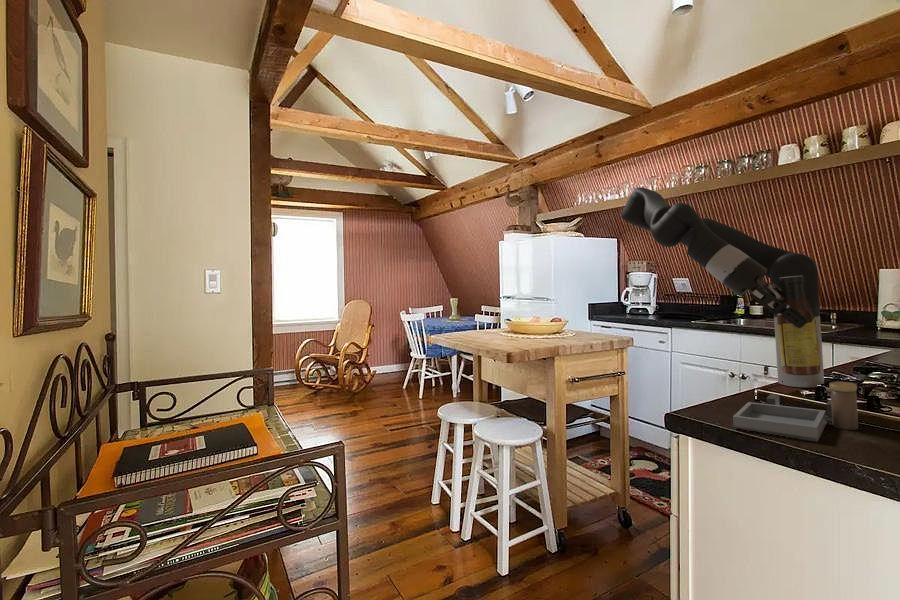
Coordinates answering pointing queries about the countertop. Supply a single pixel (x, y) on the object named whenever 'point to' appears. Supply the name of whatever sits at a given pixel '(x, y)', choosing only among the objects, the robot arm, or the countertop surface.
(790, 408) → the tray
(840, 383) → the lidded beige canister
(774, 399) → the tray
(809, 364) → the sauce bottle
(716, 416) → the countertop surface
